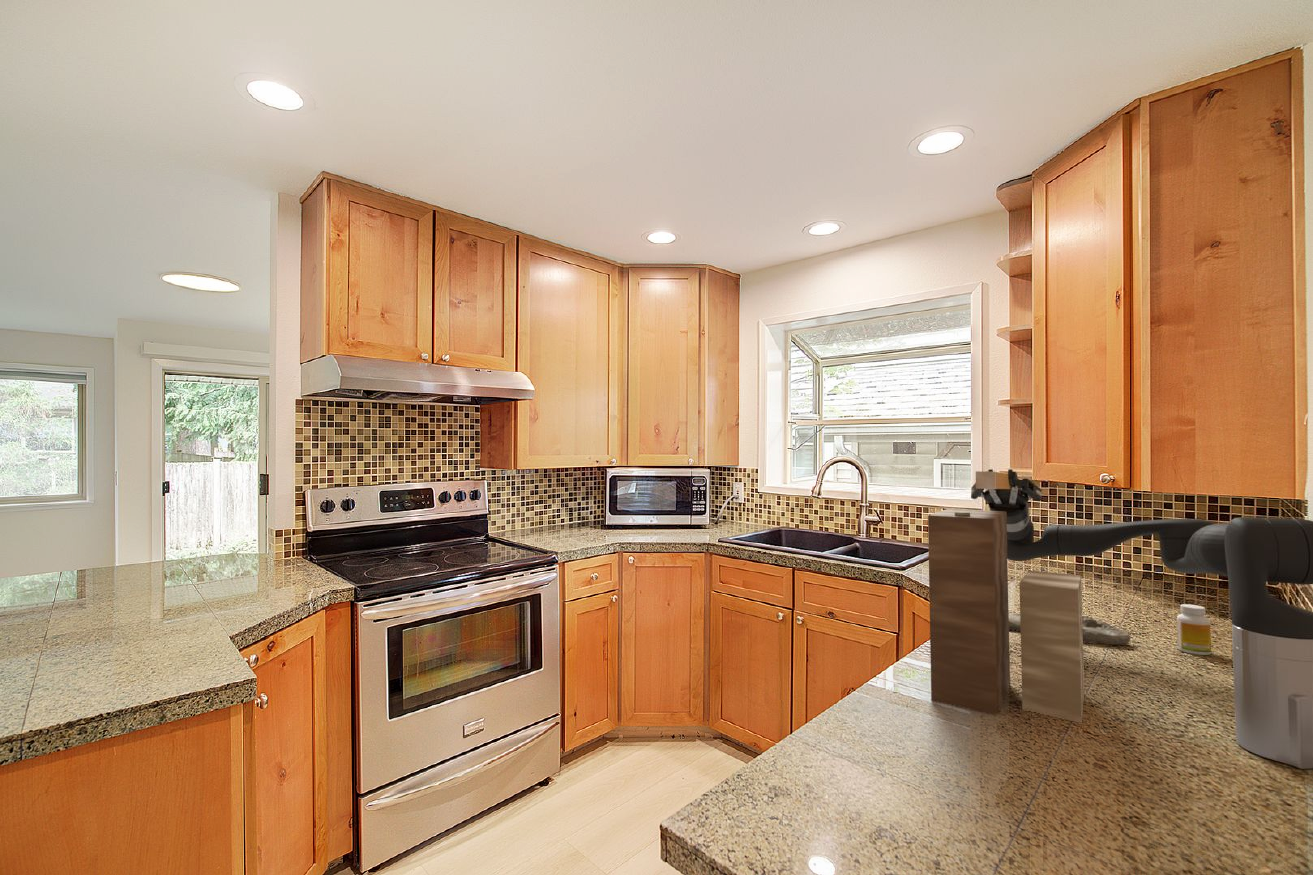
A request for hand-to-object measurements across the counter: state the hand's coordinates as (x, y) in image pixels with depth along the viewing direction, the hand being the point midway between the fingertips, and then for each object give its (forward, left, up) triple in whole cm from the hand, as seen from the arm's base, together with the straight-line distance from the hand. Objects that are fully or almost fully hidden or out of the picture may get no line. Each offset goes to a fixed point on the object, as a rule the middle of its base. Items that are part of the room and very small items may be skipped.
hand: (1000, 473), depth 121 cm
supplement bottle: (+3, -46, -39) cm, 61 cm away
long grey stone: (+21, -24, -39) cm, 51 cm away
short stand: (-18, +4, -39) cm, 43 cm away
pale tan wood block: (-6, +6, -3) cm, 9 cm away
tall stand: (-12, +16, -39) cm, 44 cm away
